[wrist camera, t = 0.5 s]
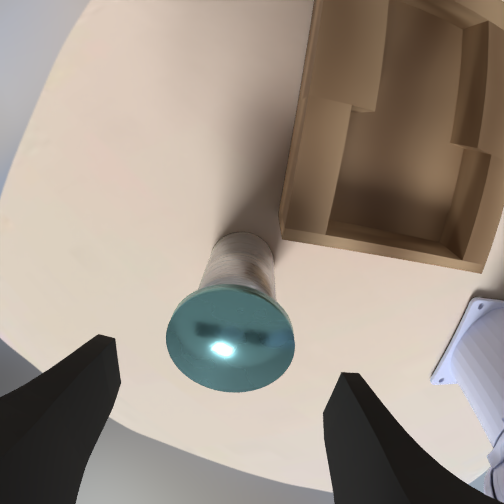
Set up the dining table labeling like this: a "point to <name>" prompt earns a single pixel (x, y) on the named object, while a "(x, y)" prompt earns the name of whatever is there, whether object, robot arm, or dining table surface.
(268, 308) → the peg
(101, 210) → the dining table surface
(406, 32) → the keyhole board
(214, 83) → the dining table surface
